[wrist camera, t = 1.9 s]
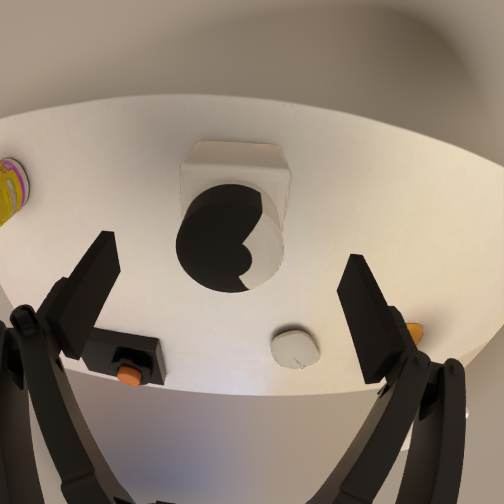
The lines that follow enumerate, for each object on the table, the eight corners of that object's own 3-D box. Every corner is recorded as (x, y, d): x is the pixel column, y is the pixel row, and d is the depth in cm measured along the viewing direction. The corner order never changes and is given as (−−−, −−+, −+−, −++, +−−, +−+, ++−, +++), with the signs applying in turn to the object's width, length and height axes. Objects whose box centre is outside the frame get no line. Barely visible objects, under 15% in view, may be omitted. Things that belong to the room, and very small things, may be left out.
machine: (92, 359, 43) (86, 377, 39) (75, 323, 37) (66, 343, 34) (166, 373, 44) (162, 393, 40) (158, 338, 38) (153, 361, 35)
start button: (122, 375, 38) (120, 383, 37) (116, 363, 36) (114, 372, 35) (143, 379, 39) (141, 388, 37) (139, 367, 37) (137, 376, 35)
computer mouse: (286, 366, 42) (288, 382, 40) (261, 331, 37) (262, 349, 34) (323, 355, 41) (326, 372, 38) (304, 318, 36) (308, 336, 33)
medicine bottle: (197, 213, 27) (169, 302, 17) (197, 139, 23) (157, 194, 13) (271, 217, 27) (285, 309, 18) (280, 144, 23) (306, 203, 13)
